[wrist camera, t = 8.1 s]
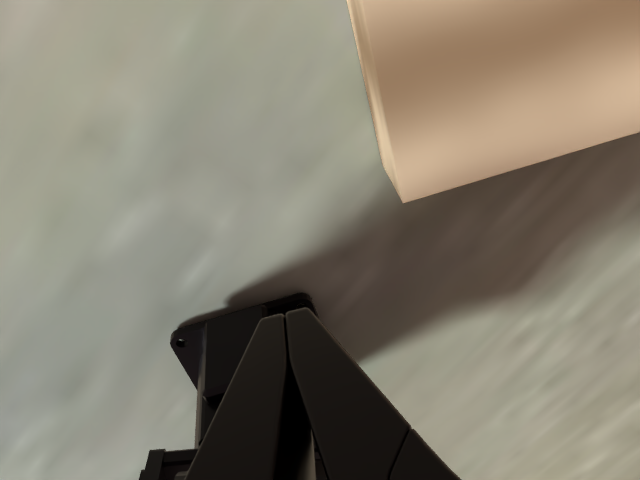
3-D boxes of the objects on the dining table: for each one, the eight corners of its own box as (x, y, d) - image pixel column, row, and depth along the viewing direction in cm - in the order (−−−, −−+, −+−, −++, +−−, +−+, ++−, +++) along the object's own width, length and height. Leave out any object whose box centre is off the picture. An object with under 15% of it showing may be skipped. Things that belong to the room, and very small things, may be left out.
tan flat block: (617, 93, 21) (669, 122, 19) (382, 165, 21) (403, 203, 19) (631, -154, 17) (702, -159, 14) (333, -60, 17) (352, -49, 14)
